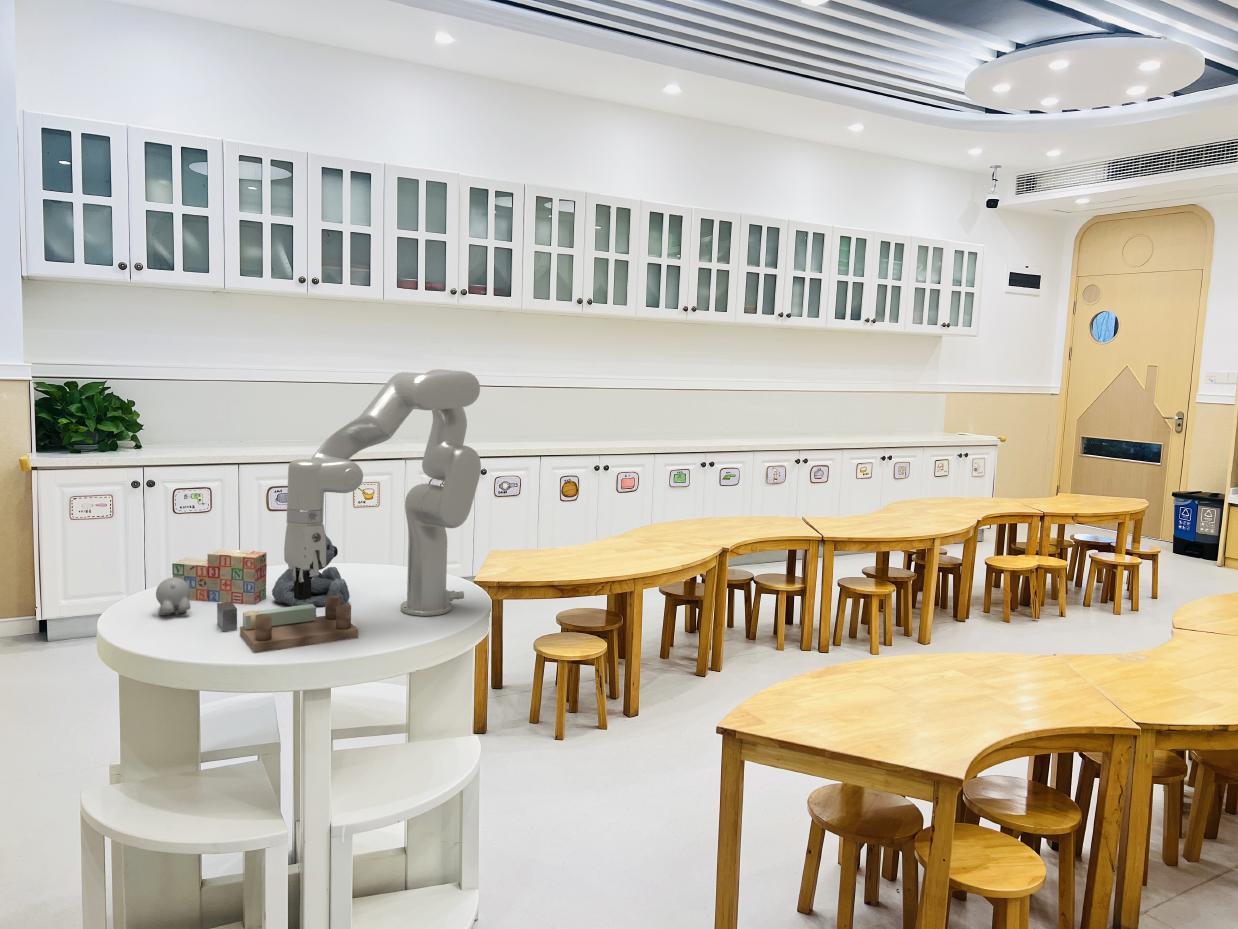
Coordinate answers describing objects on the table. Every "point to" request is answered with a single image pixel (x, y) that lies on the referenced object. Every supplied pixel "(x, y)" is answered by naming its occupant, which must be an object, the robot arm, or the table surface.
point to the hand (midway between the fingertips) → (302, 598)
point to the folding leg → (282, 615)
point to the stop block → (226, 616)
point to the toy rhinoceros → (173, 596)
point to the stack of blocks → (225, 576)
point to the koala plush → (314, 584)
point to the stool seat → (302, 629)
